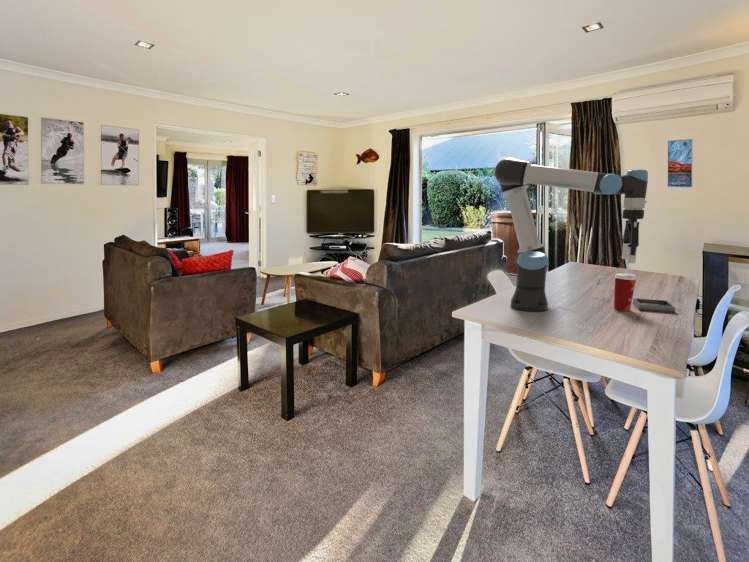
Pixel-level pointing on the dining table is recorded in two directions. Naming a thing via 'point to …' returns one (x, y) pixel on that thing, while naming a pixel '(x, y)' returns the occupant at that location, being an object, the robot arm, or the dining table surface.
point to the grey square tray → (653, 305)
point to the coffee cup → (624, 291)
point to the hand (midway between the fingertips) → (628, 261)
